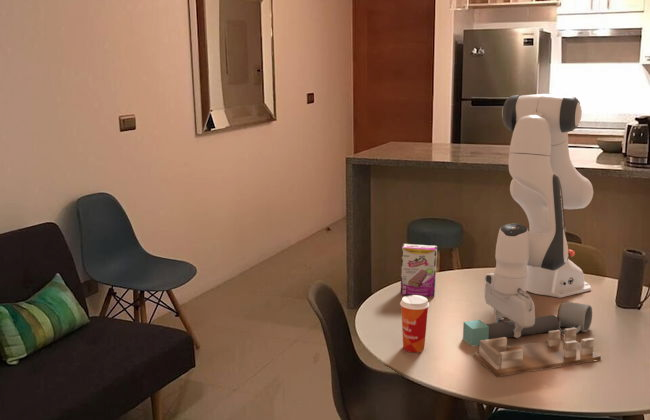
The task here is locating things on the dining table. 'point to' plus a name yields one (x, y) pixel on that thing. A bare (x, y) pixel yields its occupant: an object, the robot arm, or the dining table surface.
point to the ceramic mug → (574, 316)
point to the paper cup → (414, 322)
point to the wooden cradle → (535, 353)
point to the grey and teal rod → (505, 329)
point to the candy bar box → (418, 270)
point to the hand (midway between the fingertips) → (507, 330)
